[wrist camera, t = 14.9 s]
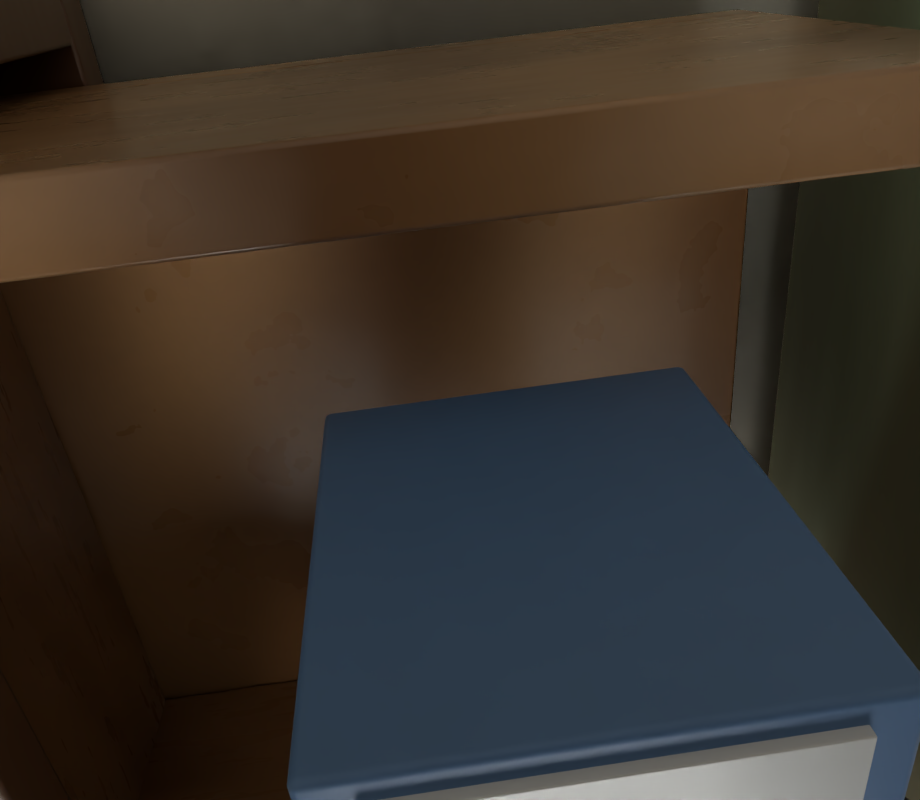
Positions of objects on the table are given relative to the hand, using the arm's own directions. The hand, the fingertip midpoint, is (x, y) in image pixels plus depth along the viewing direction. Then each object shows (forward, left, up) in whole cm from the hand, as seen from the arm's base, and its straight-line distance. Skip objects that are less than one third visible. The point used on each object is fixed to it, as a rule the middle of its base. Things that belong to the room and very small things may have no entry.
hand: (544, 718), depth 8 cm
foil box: (0, 0, -1) cm, 1 cm away
